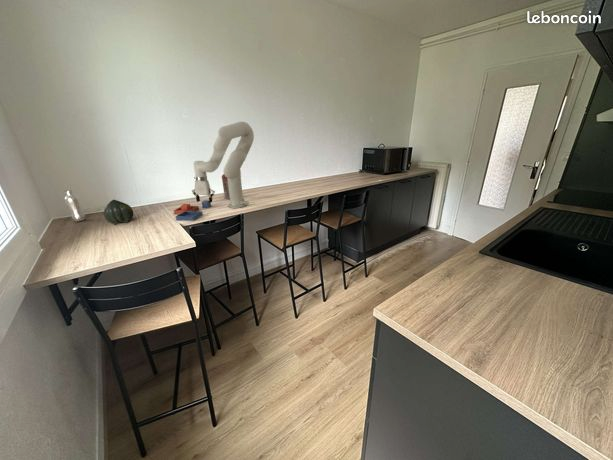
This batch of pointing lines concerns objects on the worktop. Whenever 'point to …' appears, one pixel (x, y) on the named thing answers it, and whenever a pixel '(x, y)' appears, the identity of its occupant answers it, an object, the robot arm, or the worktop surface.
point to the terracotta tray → (179, 211)
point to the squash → (118, 212)
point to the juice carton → (225, 187)
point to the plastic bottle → (74, 206)
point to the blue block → (206, 204)
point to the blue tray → (189, 215)
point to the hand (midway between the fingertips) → (204, 201)
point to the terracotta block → (186, 207)
